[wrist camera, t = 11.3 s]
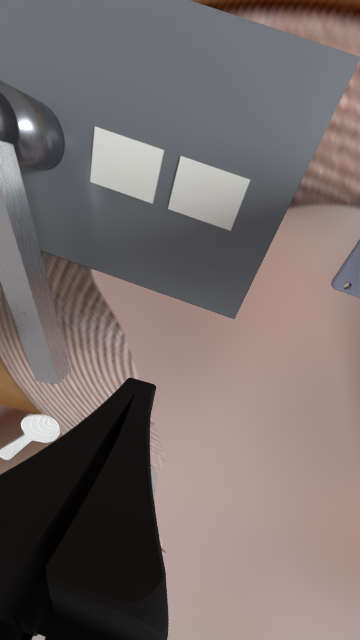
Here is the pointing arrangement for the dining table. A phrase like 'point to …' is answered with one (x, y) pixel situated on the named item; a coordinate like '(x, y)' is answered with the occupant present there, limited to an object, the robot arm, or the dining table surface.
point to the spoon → (32, 433)
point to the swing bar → (26, 265)
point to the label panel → (169, 136)
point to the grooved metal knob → (35, 131)
